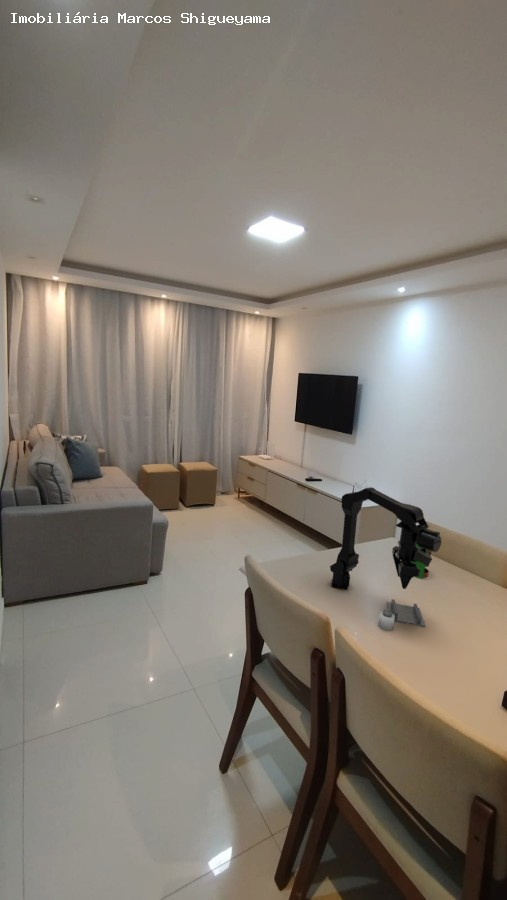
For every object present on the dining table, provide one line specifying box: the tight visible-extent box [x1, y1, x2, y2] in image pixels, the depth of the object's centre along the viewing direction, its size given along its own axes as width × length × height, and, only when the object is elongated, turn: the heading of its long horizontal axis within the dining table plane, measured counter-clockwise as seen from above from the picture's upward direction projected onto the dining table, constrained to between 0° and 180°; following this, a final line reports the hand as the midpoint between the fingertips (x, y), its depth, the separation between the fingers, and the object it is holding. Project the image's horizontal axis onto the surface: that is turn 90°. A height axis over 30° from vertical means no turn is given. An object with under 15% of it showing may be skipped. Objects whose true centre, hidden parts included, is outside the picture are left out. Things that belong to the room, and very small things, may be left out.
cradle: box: [386, 598, 426, 628], centre depth 150 cm, size 12×12×2 cm
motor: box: [411, 545, 433, 580], centre depth 184 cm, size 10×9×20 cm
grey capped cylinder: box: [377, 609, 395, 632], centre depth 141 cm, size 5×5×6 cm
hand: (401, 582), depth 147 cm, fingers open, 9 cm apart
